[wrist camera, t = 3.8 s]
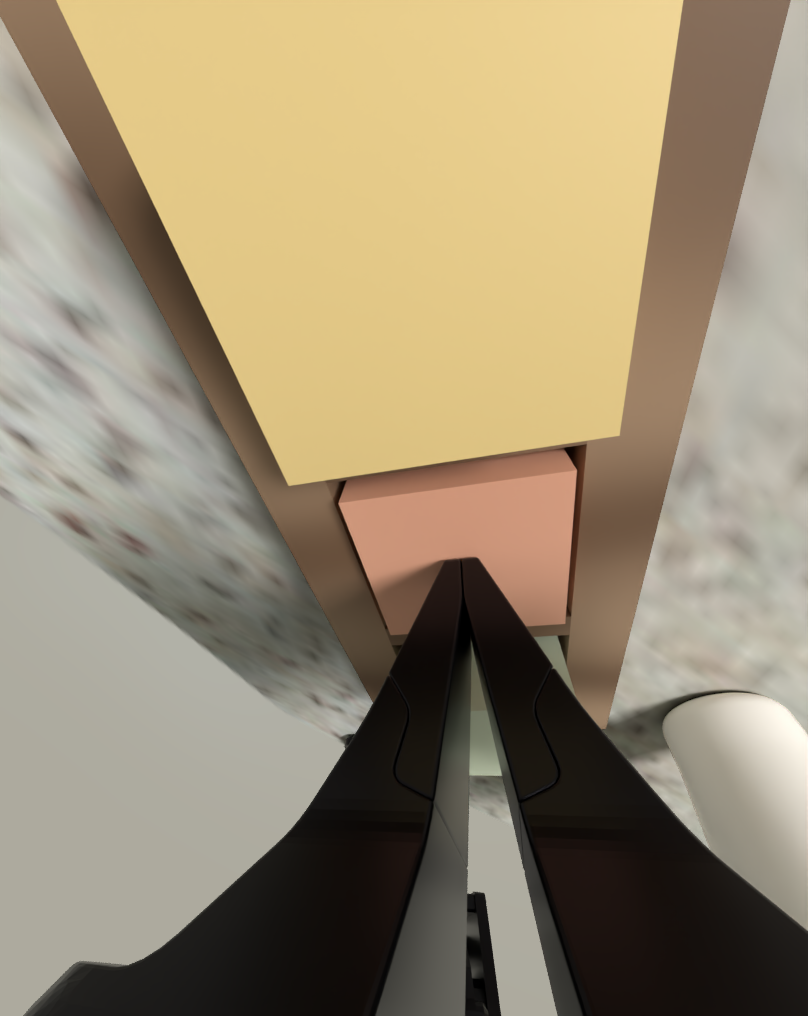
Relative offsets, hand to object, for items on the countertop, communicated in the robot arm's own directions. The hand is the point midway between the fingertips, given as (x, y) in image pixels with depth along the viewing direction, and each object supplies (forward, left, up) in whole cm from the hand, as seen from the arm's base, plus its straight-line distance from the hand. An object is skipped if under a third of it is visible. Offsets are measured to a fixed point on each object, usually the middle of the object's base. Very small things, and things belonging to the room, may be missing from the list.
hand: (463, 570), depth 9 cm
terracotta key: (0, 0, -3) cm, 3 cm away
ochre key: (+6, 0, -1) cm, 7 cm away
